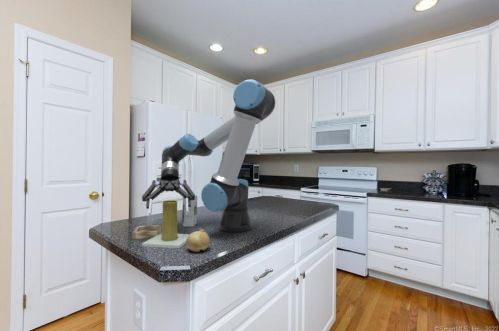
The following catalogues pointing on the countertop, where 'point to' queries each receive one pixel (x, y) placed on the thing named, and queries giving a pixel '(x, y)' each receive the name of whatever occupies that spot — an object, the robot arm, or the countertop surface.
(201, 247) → the onion
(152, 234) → the collar
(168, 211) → the vase
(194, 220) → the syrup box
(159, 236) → the tile
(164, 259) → the countertop surface
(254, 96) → the robot arm
